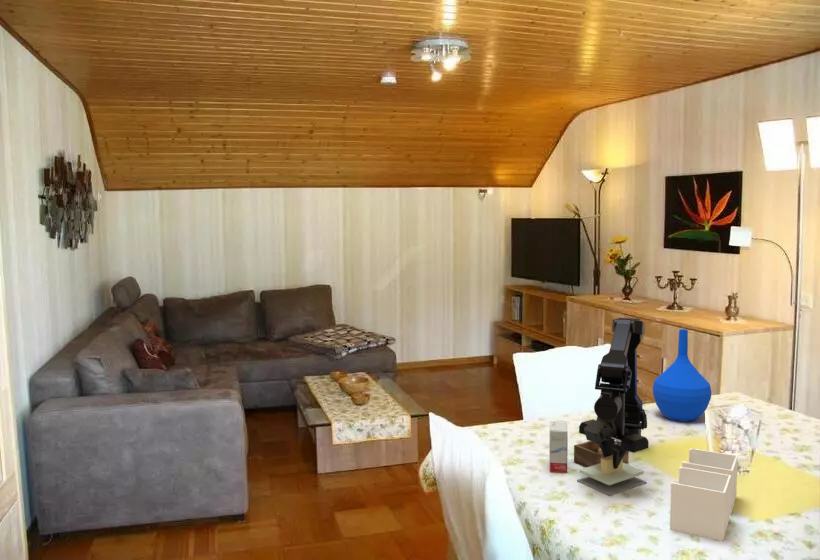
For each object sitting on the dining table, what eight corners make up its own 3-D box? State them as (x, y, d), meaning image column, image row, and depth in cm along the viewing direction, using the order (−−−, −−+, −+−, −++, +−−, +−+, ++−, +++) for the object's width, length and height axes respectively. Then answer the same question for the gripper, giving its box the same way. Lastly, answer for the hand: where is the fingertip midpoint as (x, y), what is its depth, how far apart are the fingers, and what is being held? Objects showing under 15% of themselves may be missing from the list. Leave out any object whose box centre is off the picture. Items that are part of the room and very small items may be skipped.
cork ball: (602, 454, 200) (603, 444, 200) (611, 457, 198) (611, 447, 198) (595, 456, 199) (595, 446, 199) (603, 459, 196) (603, 449, 196)
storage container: (723, 541, 151) (724, 493, 149) (669, 530, 156) (671, 483, 155) (736, 498, 172) (737, 455, 171) (688, 489, 178) (690, 448, 176)
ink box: (567, 473, 189) (568, 431, 187) (549, 472, 190) (549, 430, 188) (566, 461, 197) (567, 421, 196) (549, 460, 198) (549, 420, 197)
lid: (613, 464, 190) (614, 446, 189) (643, 476, 181) (644, 457, 181) (579, 475, 183) (579, 456, 182) (608, 488, 175) (609, 468, 174)
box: (603, 453, 203) (604, 436, 202) (628, 463, 195) (628, 445, 195) (573, 462, 197) (574, 445, 196) (598, 472, 189) (598, 454, 188)
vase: (657, 424, 228) (659, 334, 224) (647, 408, 246) (649, 324, 242) (716, 426, 225) (720, 335, 221) (702, 410, 243) (705, 325, 239)
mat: (613, 469, 191) (613, 468, 191) (646, 483, 181) (646, 481, 181) (576, 481, 183) (576, 479, 183) (609, 495, 174) (609, 494, 174)
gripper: (564, 405, 184) (563, 462, 186) (619, 424, 168) (618, 486, 170) (594, 398, 190) (593, 453, 191) (650, 415, 174) (649, 476, 176)
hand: (612, 467), depth 182 cm, fingers closed on lid
